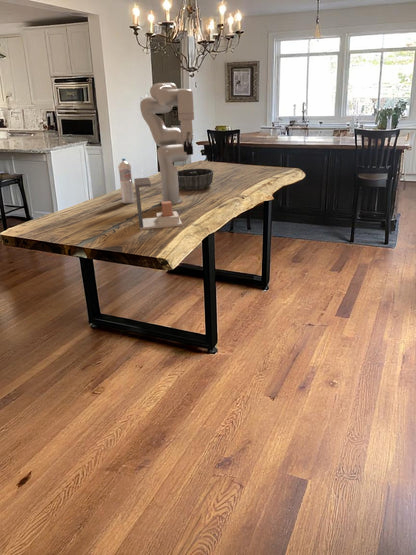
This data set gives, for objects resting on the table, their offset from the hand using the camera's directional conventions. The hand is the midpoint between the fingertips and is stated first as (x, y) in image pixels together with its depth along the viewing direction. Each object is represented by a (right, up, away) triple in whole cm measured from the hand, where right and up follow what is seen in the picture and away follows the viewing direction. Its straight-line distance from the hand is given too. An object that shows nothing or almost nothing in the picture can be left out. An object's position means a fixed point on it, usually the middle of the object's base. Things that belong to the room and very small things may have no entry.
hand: (188, 153), depth 230 cm
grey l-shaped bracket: (-20, -35, -5) cm, 41 cm away
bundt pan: (+1, -4, +67) cm, 67 cm away
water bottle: (-36, -19, +38) cm, 56 cm away
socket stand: (-14, -35, -3) cm, 38 cm away
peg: (-10, -34, -3) cm, 35 cm away
